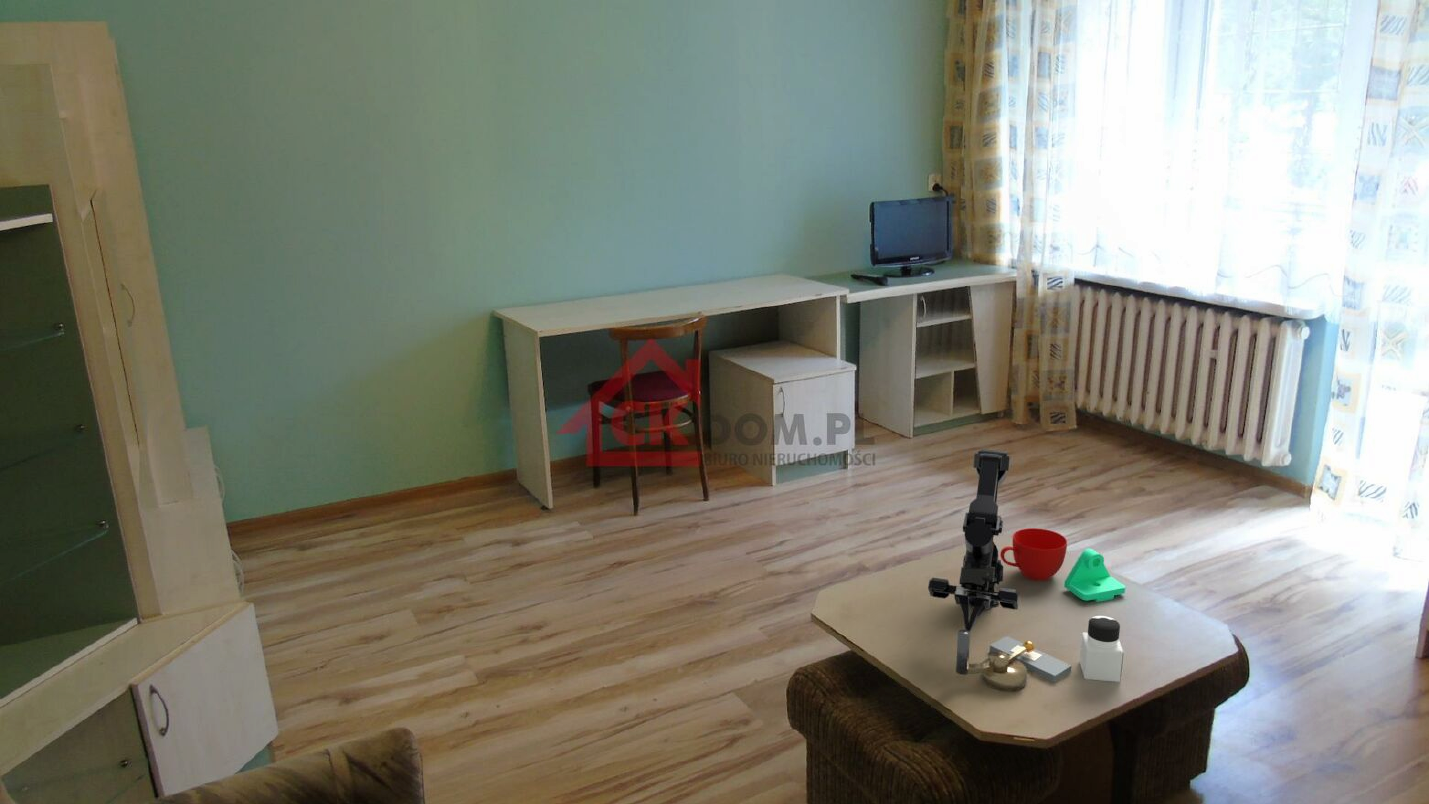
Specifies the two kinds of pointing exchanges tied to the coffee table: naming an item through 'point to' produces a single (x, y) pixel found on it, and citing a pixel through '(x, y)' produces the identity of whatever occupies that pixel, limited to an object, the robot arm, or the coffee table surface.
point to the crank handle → (993, 665)
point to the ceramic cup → (1037, 553)
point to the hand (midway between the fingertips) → (967, 631)
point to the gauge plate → (1034, 659)
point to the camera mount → (1092, 578)
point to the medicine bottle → (1101, 650)
